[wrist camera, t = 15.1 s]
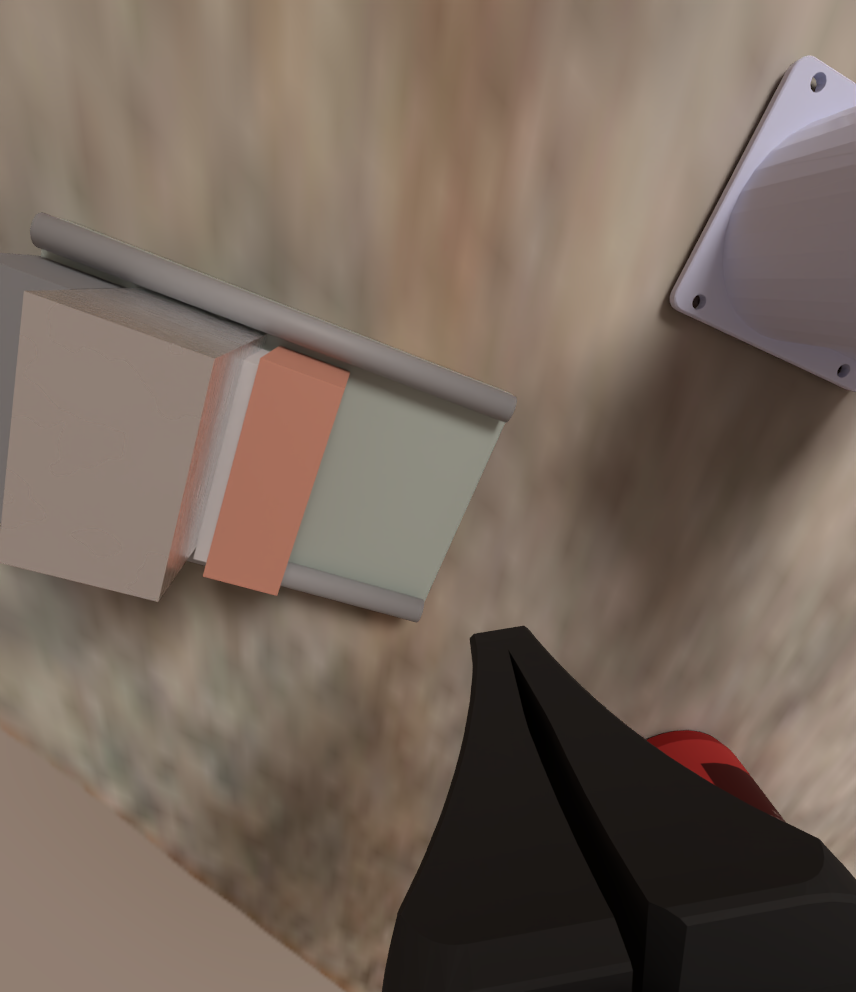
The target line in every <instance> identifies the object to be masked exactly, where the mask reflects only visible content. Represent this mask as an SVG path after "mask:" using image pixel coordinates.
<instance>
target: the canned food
mask: <svg viewBox="0 0 856 992" xmlns="http://www.w3.org/2000/svg"><path fill="white" fill-rule="evenodd" d="M647 741H648V742H649V743H651V744H652V745H654V746H655V747H657V748H658V749H659V750H661V751H662V752H664V753H665V754H666V755H668V756H669V757H671V758H672V759H674V760H675V761H677V762H679V763H680V764H682V765H683V766H685V767H687V768H688V769H690V770H691V771H693V772H695V773H696V774H698V775H699V776H701V777H702V778H704V779H706V780H707V781H709V782H710V783H712V784H714V785H715V786H717V787H719V788H721V789H722V790H724V791H726V792H728V793H730V794H731V795H733V796H735V797H737V798H739V799H740V800H742V801H744V802H746V803H748V804H749V805H751V806H753V807H755V808H757V809H759V810H761V811H763V812H765V813H767V814H769V815H771V816H773V817H775V818H777V819H779V820H781V821H784V819H783V818H782V817H781V815H780V814H779V813H778V811H777V810H776V809H775V807H774V806H773V805H772V803H771V802H770V801H769V799H768V798H767V797H766V795H765V794H764V793H763V792H762V790H761V789H760V788H759V786H758V785H757V784H756V782H755V781H754V780H753V778H752V777H751V776H750V774H749V773H748V772H747V770H746V769H745V768H744V766H743V765H742V764H741V763H740V761H739V760H738V759H737V757H736V756H735V755H734V754H733V753H732V752H731V750H730V749H728V748H727V747H726V746H725V745H723V744H722V743H721V742H719V741H718V740H717V739H715V738H713V737H712V736H710V735H708V734H705V733H702V732H697V731H689V730H686V731H673V732H668V733H663V734H660V735H657V736H654V737H651V738H649V739H647ZM784 822H785V821H784Z"/></svg>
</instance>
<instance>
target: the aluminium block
mask: <svg viewBox="0 0 856 992" xmlns="http://www.w3.org/2000/svg"><path fill="white" fill-rule="evenodd" d="M266 337H267V334H266V333H263V332H260V331H258V330H255V329H252V328H250V327H247V326H244V325H242V324H239V323H236V322H234V321H231V320H228V319H226V318H223V317H220V316H218V315H215V314H212V313H210V312H207V311H204V310H202V309H199V308H196V307H194V306H191V305H188V304H186V303H183V302H180V301H178V300H175V299H172V298H170V297H167V296H164V295H162V294H159V293H156V292H154V291H151V290H148V289H146V288H113V289H74V290H35V291H24V295H23V305H22V315H21V325H20V335H19V346H18V356H17V366H16V376H15V386H14V397H13V407H12V417H11V427H10V437H9V448H8V458H7V468H6V478H5V488H4V499H3V509H2V519H1V529H0V563H3V564H7V565H11V566H15V567H19V568H23V569H27V570H31V571H35V572H39V573H44V574H48V575H52V576H56V577H60V578H64V579H68V580H72V581H76V582H80V583H84V584H88V585H92V586H96V587H100V588H104V589H108V590H112V591H116V592H120V593H124V594H128V595H132V596H136V597H140V598H144V599H148V600H152V601H156V602H158V601H159V600H160V599H161V597H162V596H163V594H164V593H165V591H166V590H167V588H168V587H169V586H170V584H171V583H172V581H173V580H174V578H175V577H176V575H177V574H178V572H179V571H180V570H181V568H182V567H183V565H184V564H185V562H186V561H187V559H188V558H189V557H190V555H191V554H192V552H193V551H194V549H195V548H196V546H197V542H198V538H199V534H200V530H201V526H202V522H203V518H204V514H205V511H206V507H207V503H208V499H209V495H210V491H211V487H212V483H213V479H214V475H215V471H216V467H217V463H218V459H219V455H220V451H221V447H222V443H223V439H224V435H225V431H226V427H227V423H228V419H229V416H230V412H231V408H232V404H233V400H234V396H235V392H236V388H237V384H238V380H239V376H240V372H241V368H242V364H243V360H244V359H246V358H247V357H249V356H251V355H253V354H254V353H256V352H258V351H260V350H261V349H264V345H265V341H266Z"/></svg>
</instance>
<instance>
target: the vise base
mask: <svg viewBox="0 0 856 992" xmlns="http://www.w3.org/2000/svg"><path fill="white" fill-rule="evenodd" d="M30 235H31V240H32V242H33V244H34V245H35V246H36V247H38V248H41V249H42V252H41V256H34V255H21V254H8V253H0V523H1V519H2V509H3V499H4V488H5V478H6V468H7V458H8V448H9V437H10V427H11V417H12V407H13V397H14V386H15V376H16V366H17V356H18V346H19V335H20V325H21V315H22V305H23V295H24V291H35V290H74V289H113V288H146V289H148V290H151V291H154V292H156V293H159V294H162V295H164V296H167V297H170V298H172V299H175V300H178V301H180V302H183V303H186V304H188V305H191V306H194V307H196V308H199V309H202V310H204V311H207V312H210V313H212V314H215V315H218V316H220V317H223V318H226V319H228V320H231V321H234V322H236V323H239V324H242V325H244V326H247V327H250V328H252V329H255V330H258V331H260V332H263V333H266V334H267V337H266V341H265V345H264V350H267V351H269V352H270V351H272V350H274V349H275V348H277V347H278V346H283V347H286V348H288V349H291V350H294V351H296V352H299V353H302V354H304V355H307V356H310V357H312V358H315V359H318V360H321V361H323V362H326V363H329V364H331V365H334V366H337V367H339V368H342V369H345V370H347V371H350V375H349V378H348V381H347V384H346V387H345V390H344V393H343V396H342V399H341V402H340V405H339V408H338V411H337V415H336V418H335V421H334V424H333V427H332V430H331V433H330V436H329V439H328V442H327V445H326V448H325V451H324V454H323V457H322V460H321V463H320V466H319V469H318V472H317V475H316V479H315V482H314V485H313V488H312V491H311V494H310V497H309V500H308V503H307V506H306V509H305V512H304V515H303V518H302V521H301V524H300V527H299V530H298V533H297V536H296V539H295V543H294V546H293V549H292V552H291V555H290V558H289V561H288V564H287V567H286V570H285V573H284V576H283V579H282V582H281V585H280V586H283V587H286V588H290V589H294V590H297V591H301V592H305V593H309V594H312V595H316V596H320V597H324V598H327V599H331V600H335V601H339V602H342V603H346V604H350V605H353V606H357V607H361V608H365V609H368V610H372V611H376V612H380V613H383V614H387V615H391V616H395V617H398V618H402V619H406V620H409V621H413V622H418V621H419V620H420V618H421V615H422V612H423V607H424V602H425V599H426V597H427V595H428V593H429V591H430V588H431V586H432V584H433V582H434V579H435V577H436V575H437V573H438V571H439V568H440V566H441V564H442V562H443V559H444V557H445V555H446V553H447V551H448V548H449V546H450V544H451V542H452V539H453V537H454V535H455V533H456V531H457V528H458V526H459V524H460V522H461V519H462V517H463V515H464V513H465V511H466V508H467V506H468V504H469V502H470V499H471V497H472V495H473V493H474V491H475V488H476V486H477V484H478V482H479V479H480V477H481V475H482V473H483V471H484V468H485V466H486V464H487V462H488V459H489V457H490V455H491V453H492V451H493V448H494V446H495V444H496V442H497V439H498V437H499V435H500V433H501V431H502V428H503V426H504V424H505V422H507V421H508V420H509V419H510V418H511V416H512V414H513V412H514V410H515V407H516V402H517V398H516V396H513V395H512V394H511V393H509V392H507V391H504V390H501V389H499V388H496V387H494V386H491V385H489V384H486V383H483V382H481V381H478V380H476V379H473V378H471V377H468V376H466V375H463V374H460V373H458V372H455V371H453V370H450V369H448V368H445V367H442V366H440V365H437V364H435V363H432V362H430V361H427V360H424V359H422V358H419V357H417V356H414V355H412V354H409V353H407V352H404V351H401V350H399V349H396V348H394V347H391V346H389V345H386V344H383V343H381V342H378V341H376V340H373V339H371V338H368V337H365V336H363V335H360V334H358V333H355V332H353V331H350V330H348V329H345V328H342V327H340V326H337V325H335V324H332V323H330V322H327V321H324V320H322V319H319V318H317V317H314V316H312V315H309V314H306V313H304V312H301V311H299V310H296V309H294V308H291V307H289V306H286V305H283V304H281V303H278V302H276V301H273V300H271V299H268V298H265V297H263V296H260V295H258V294H255V293H253V292H250V291H248V290H245V289H242V288H240V287H237V286H235V285H232V284H230V283H227V282H224V281H222V280H219V279H217V278H214V277H212V276H209V275H206V274H204V273H201V272H199V271H196V270H194V269H191V268H189V267H186V266H183V265H181V264H178V263H176V262H173V261H171V260H168V259H165V258H163V257H160V256H158V255H155V254H153V253H150V252H147V251H145V250H142V249H140V248H137V247H135V246H132V245H130V244H127V243H124V242H122V241H119V240H117V239H114V238H112V237H109V236H106V235H104V234H101V233H99V232H96V231H94V230H91V229H88V228H86V227H83V226H81V225H78V224H76V223H73V222H71V221H68V220H65V219H62V218H57V217H53V216H51V215H48V214H46V213H43V212H41V213H38V214H37V215H36V216H35V217H34V219H33V221H32V223H31V228H30ZM195 550H196V548H195V549H194V551H193V552H192V554H191V555H190V557H189V558H188V559H187V561H189V562H193V563H197V564H200V565H204V566H206V562H203V561H200V560H196V559H193V558H194V554H195Z"/></svg>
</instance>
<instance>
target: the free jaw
mask: <svg viewBox="0 0 856 992" xmlns="http://www.w3.org/2000/svg"><path fill="white" fill-rule="evenodd" d="M349 375H350V371H347V370H345V369H342V368H339V367H337V366H334V365H331V364H329V363H326V362H323V361H321V360H318V359H315V358H312V357H310V356H307V355H304V354H302V353H299V352H296V351H294V350H291V349H288V348H286V347H283V346H278V347H277V348H275V349H274V350H272V351H270V352H269V351H267V350H264V349H261V350H260V351H258V352H256V353H254V354H253V355H251V356H249V357H247V358H246V359H244V360H243V364H242V368H241V372H240V376H239V380H238V384H237V388H236V392H235V396H234V400H233V404H232V408H231V412H230V416H229V419H228V423H227V427H226V431H225V435H224V439H223V443H222V447H221V451H220V455H219V459H218V463H217V467H216V471H215V475H214V479H213V483H212V487H211V491H210V495H209V499H208V503H207V507H206V511H205V514H204V518H203V522H202V526H201V530H200V534H199V538H198V542H197V546H196V550H195V554H194V558H193V559H196V560H200V561H203V562H206V566H205V570H204V574H203V577H207V578H211V579H215V580H219V581H222V582H226V583H230V584H234V585H238V586H241V587H245V588H249V589H253V590H257V591H260V592H264V593H268V594H272V595H276V596H277V594H278V591H279V588H280V585H281V582H282V579H283V576H284V573H285V570H286V567H287V564H288V561H289V558H290V555H291V552H292V549H293V546H294V543H295V539H296V536H297V533H298V530H299V527H300V524H301V521H302V518H303V515H304V512H305V509H306V506H307V503H308V500H309V497H310V494H311V491H312V488H313V485H314V482H315V479H316V475H317V472H318V469H319V466H320V463H321V460H322V457H323V454H324V451H325V448H326V445H327V442H328V439H329V436H330V433H331V430H332V427H333V424H334V421H335V418H336V415H337V411H338V408H339V405H340V402H341V399H342V396H343V393H344V390H345V387H346V384H347V381H348V378H349Z"/></svg>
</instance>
